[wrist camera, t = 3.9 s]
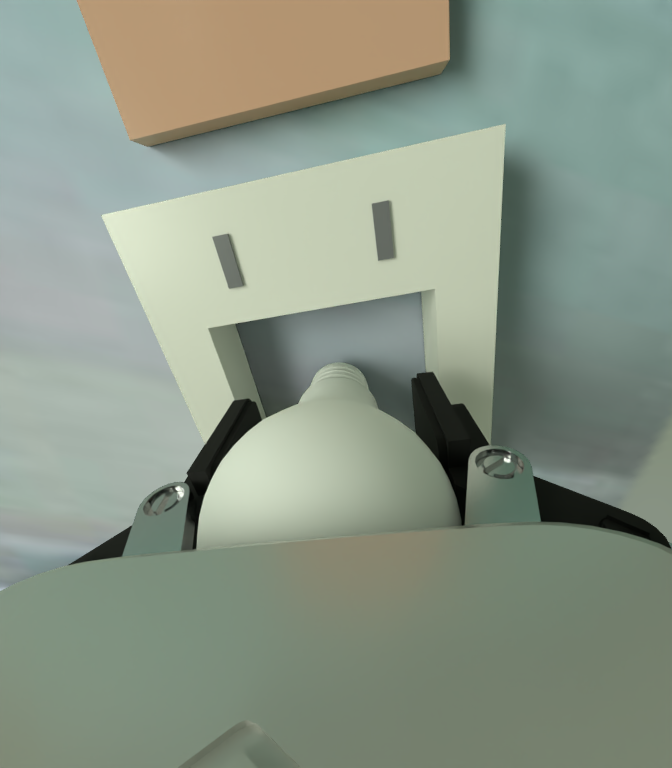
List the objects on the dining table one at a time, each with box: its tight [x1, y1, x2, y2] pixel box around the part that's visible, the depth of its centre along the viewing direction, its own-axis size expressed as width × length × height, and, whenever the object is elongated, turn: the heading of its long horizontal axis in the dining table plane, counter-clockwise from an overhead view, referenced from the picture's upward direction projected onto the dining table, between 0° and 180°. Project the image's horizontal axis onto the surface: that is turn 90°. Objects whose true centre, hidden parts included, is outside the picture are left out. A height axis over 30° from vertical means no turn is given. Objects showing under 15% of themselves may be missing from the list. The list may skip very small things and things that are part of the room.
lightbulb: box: [196, 363, 462, 549], centre depth 10 cm, size 6×6×11 cm
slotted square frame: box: [101, 124, 506, 445], centre depth 13 cm, size 14×12×3 cm
